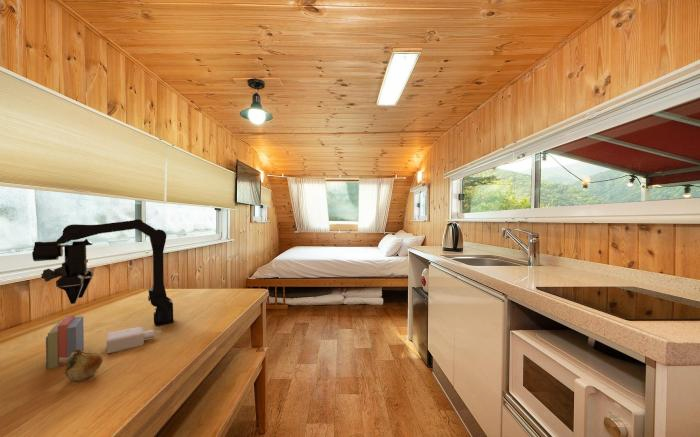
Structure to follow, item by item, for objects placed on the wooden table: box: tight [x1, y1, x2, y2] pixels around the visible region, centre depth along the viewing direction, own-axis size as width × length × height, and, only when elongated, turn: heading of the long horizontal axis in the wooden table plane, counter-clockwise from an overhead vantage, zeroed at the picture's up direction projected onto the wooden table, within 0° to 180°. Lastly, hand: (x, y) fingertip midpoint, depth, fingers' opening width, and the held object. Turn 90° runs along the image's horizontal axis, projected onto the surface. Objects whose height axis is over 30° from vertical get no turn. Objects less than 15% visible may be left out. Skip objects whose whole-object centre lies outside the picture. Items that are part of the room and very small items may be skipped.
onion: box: [59, 349, 104, 382], centre depth 77 cm, size 8×8×8 cm
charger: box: [106, 326, 162, 354], centre depth 99 cm, size 5×9×15 cm
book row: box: [45, 314, 85, 369], centre depth 89 cm, size 7×12×12 cm, turn 36°
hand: (76, 300), depth 103 cm, fingers open, 9 cm apart
